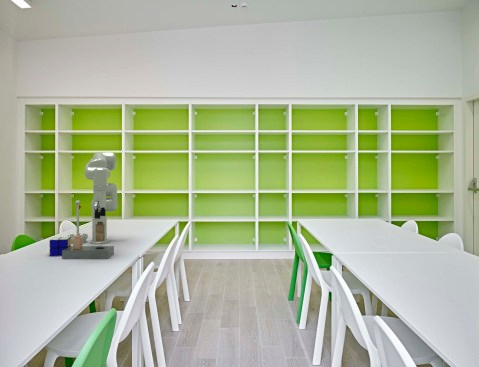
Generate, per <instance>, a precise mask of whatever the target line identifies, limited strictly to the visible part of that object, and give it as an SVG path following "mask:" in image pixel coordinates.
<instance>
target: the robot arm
mask: <svg viewBox="0 0 479 367" xmlns="http://www.w3.org/2000/svg"><path fill="white" fill-rule="evenodd" d="M116 166H117V156H116V154H115V153H114V152H108V151H98V152H97V151H96V152H95V153H94V154H93V157H92V158H91V159H89V160H88V163H86V165H85V167H84V176H85V179H87V180H92V187H93V188H92V190H93V198H92V200H91V202H90V207H91V213H92V214H91V218H92V220H91V222H92V223H91V224H92V226H91V228H92V229H91V230H92V231H91V232H92V233H91V234H92V240H90V241H89V243H90V244H91V245H93V244H94V245H101V244H102V245H103V244H107V243H109V242H110V240H109V239H107V235H108V234H107V232H108V229H107V228H108V227H107V225H108V224H107V223H108V222H107V221H108V219H107V215H106V212H115V211H116V210H117V209H118V187H117V185H116V183H113V182H108V180H109V178H110V176H111V171H114V170H115V169H116ZM107 197H108V198H107ZM97 222H103V224H105V240H104V241H96V224H97Z"/></svg>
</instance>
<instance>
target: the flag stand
mask: <svg viewBox="0 0 479 367" xmlns="http://www.w3.org/2000/svg"><path fill="white" fill-rule="evenodd" d="M80 203H81V201H80V200H75V204H76V234H74V233H72V234H68V235H67V236H71V245H73V238H75V236H81V237H82V244H86V243H87V239H88V238H89V234H88V233H82V234H81V233H80V209H81V208H82V206H81V205H80Z"/></svg>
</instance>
